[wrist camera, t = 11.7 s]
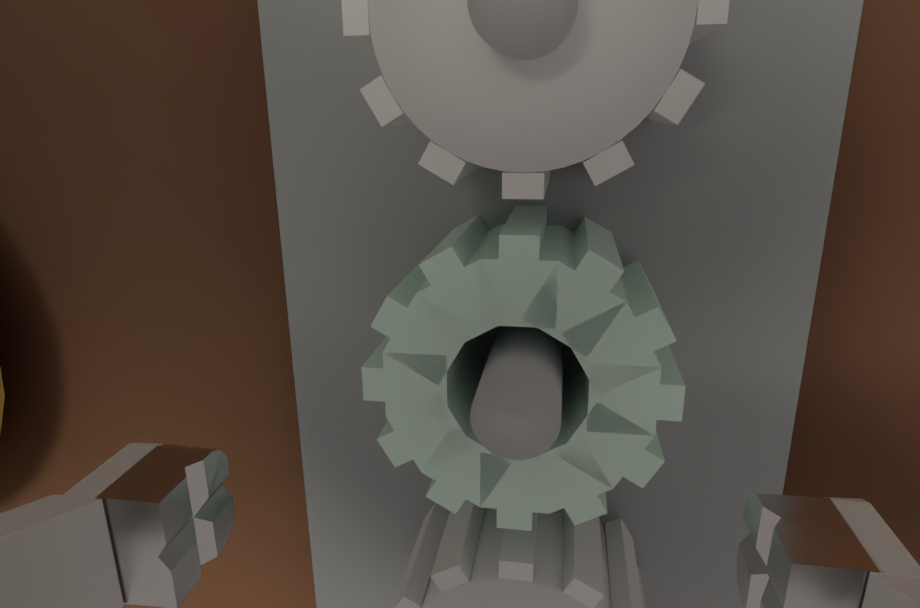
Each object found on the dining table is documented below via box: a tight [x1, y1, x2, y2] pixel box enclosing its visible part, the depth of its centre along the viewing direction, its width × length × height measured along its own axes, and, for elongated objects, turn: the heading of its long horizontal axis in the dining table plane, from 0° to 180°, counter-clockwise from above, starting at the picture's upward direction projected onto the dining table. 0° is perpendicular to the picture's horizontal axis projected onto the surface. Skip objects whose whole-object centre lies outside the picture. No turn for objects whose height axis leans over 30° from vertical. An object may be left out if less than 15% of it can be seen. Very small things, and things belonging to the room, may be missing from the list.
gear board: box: [257, 0, 864, 608], centre depth 15 cm, size 25×14×9 cm, turn 1°
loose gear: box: [361, 205, 686, 531], centre depth 15 cm, size 7×7×4 cm
